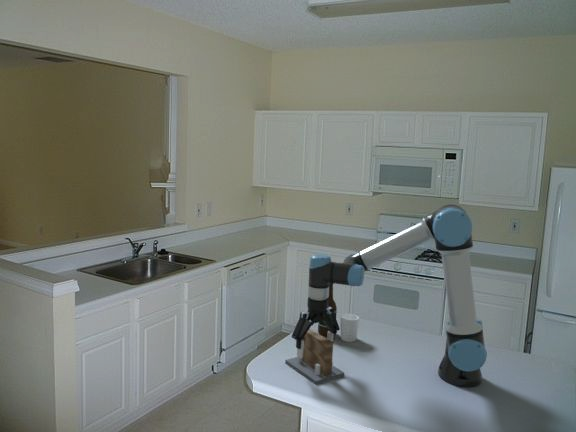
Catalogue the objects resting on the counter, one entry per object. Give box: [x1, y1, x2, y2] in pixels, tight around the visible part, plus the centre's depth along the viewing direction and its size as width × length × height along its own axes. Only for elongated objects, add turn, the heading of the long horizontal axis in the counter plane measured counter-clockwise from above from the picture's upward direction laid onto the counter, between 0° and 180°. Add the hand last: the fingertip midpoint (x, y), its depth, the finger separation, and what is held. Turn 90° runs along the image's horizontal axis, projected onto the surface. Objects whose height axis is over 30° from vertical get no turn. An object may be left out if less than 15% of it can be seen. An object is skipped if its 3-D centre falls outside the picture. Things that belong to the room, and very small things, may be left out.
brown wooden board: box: [302, 328, 334, 376], centre depth 180 cm, size 16×4×12 cm, turn 34°
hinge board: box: [285, 356, 345, 385], centre depth 181 cm, size 19×13×5 cm
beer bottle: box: [317, 283, 338, 338], centre depth 214 cm, size 8×8×24 cm
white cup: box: [339, 313, 360, 343], centre depth 211 cm, size 8×8×10 cm
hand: (315, 352), depth 181 cm, fingers open, 13 cm apart
